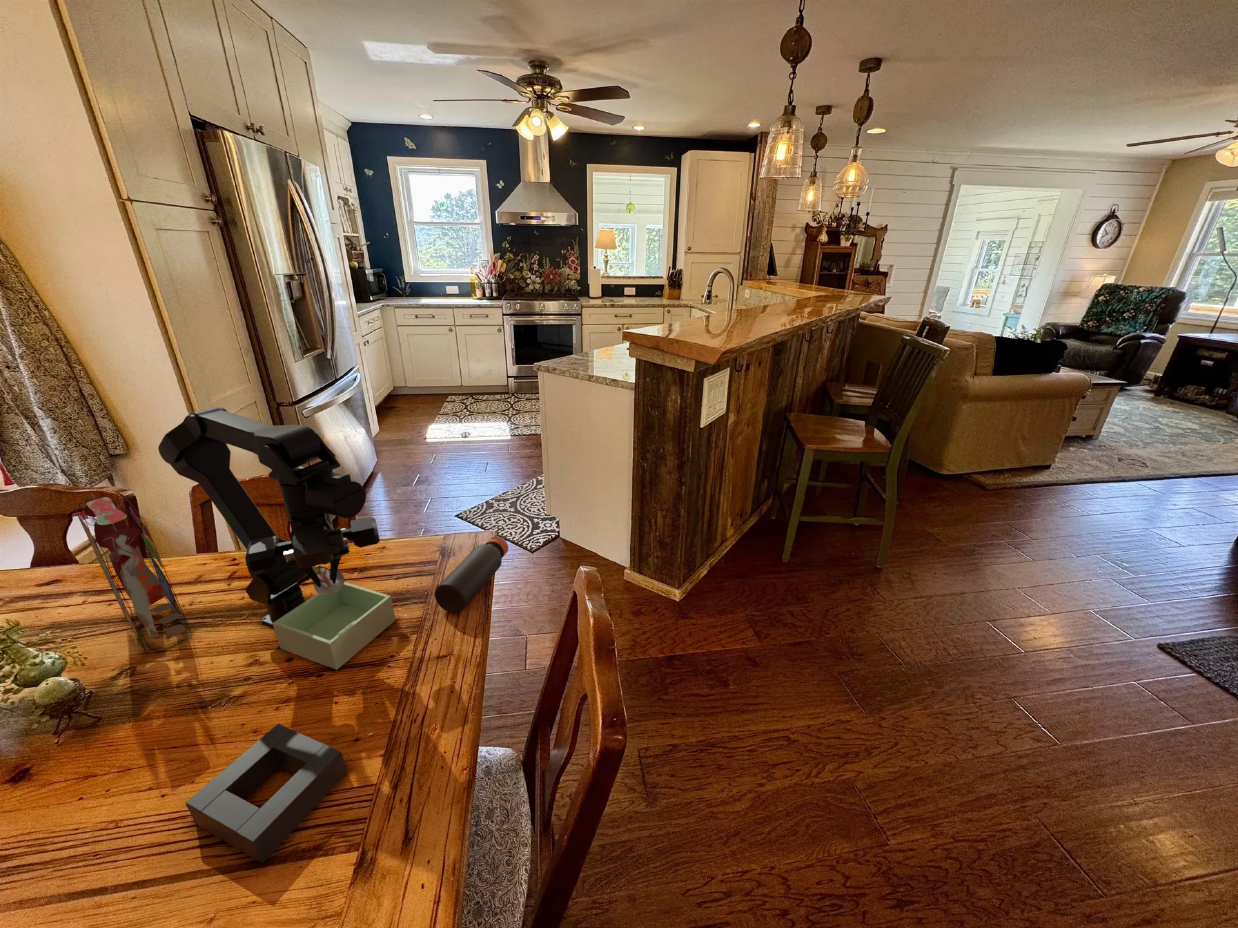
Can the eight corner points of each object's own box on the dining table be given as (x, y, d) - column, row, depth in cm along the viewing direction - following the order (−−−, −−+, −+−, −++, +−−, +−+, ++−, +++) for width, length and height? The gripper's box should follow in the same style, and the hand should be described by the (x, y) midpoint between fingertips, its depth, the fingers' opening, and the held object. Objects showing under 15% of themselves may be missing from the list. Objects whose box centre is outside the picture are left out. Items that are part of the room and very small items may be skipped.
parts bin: (280, 648, 86) (272, 623, 84) (343, 603, 98) (337, 579, 95) (336, 669, 82) (329, 643, 80) (395, 619, 93) (391, 595, 91)
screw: (347, 592, 92) (317, 600, 90) (343, 568, 93) (313, 575, 91) (339, 578, 81) (305, 586, 79) (334, 550, 82) (300, 558, 80)
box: (114, 600, 97) (63, 489, 88) (155, 585, 102) (110, 478, 92) (148, 658, 84) (91, 534, 74) (193, 638, 88) (145, 519, 79)
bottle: (469, 597, 92) (516, 542, 110) (439, 578, 92) (491, 527, 110) (458, 620, 95) (506, 563, 113) (429, 601, 95) (481, 548, 113)
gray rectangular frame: (195, 824, 60) (184, 802, 58) (285, 743, 70) (278, 722, 68) (262, 863, 56) (252, 841, 54) (347, 771, 66) (341, 751, 64)
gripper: (227, 542, 69) (257, 630, 75) (374, 513, 77) (390, 594, 83) (238, 508, 78) (264, 589, 84) (368, 485, 86) (383, 561, 92)
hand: (326, 584), depth 85 cm, fingers closed on screw, 2 cm apart
